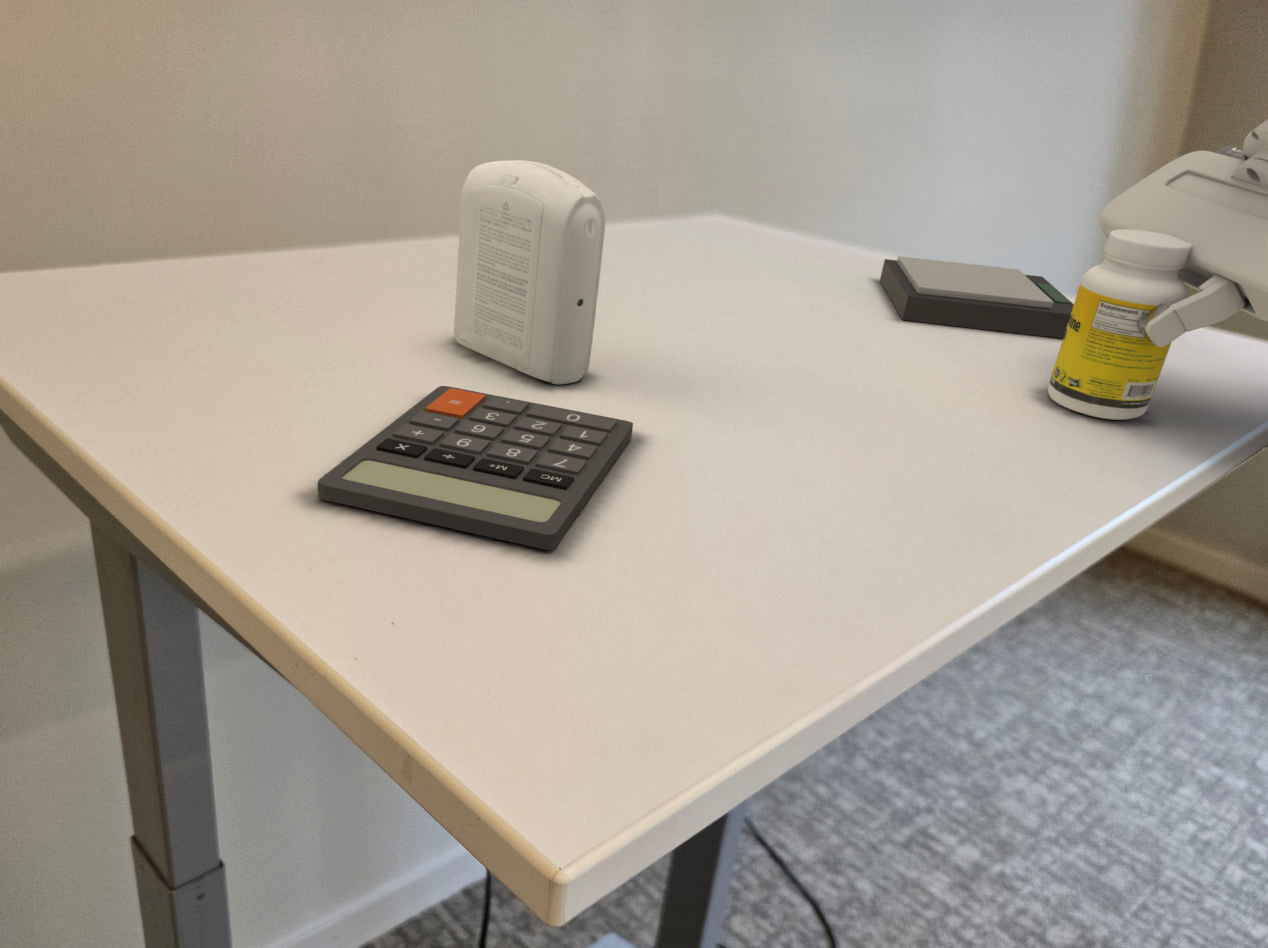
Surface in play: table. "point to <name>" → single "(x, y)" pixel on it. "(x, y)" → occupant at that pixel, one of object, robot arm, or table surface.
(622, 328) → the table surface
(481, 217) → the photo printer
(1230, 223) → the robot arm
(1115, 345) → the pill bottle
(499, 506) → the calculator
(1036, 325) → the scale
